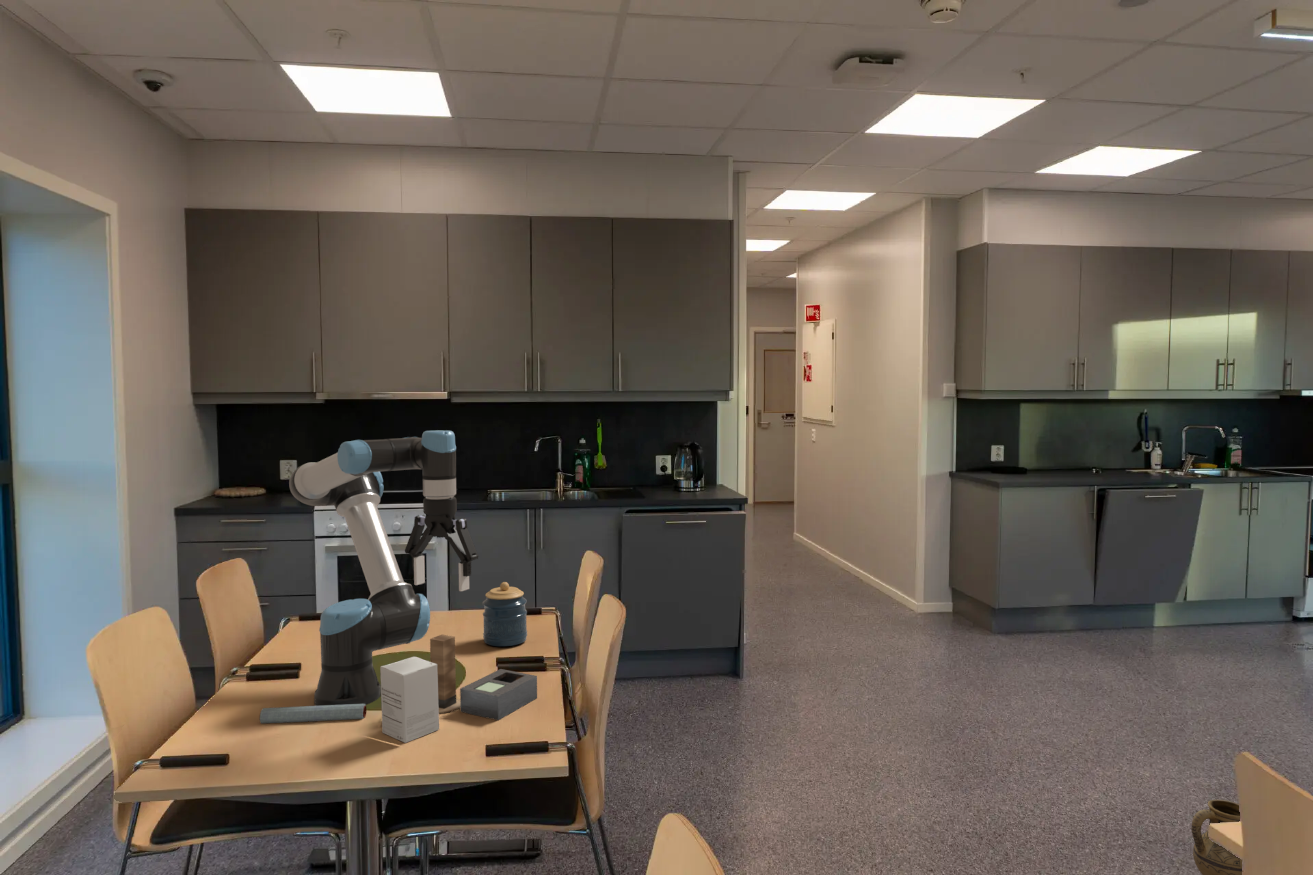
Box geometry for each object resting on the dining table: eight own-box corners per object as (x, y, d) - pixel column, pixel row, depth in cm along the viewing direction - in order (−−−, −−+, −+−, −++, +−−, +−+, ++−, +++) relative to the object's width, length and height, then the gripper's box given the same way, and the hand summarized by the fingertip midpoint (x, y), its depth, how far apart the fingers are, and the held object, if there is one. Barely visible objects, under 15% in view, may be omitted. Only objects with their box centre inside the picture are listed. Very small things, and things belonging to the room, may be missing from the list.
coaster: (445, 715, 188) (445, 713, 188) (418, 709, 191) (418, 707, 191) (468, 703, 195) (468, 701, 195) (442, 698, 198) (442, 695, 198)
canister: (522, 632, 253) (521, 575, 252) (531, 644, 241) (530, 585, 240) (479, 636, 248) (479, 579, 247) (487, 649, 236) (486, 589, 235)
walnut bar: (444, 708, 190) (443, 641, 189) (431, 705, 192) (429, 638, 191) (456, 702, 194) (455, 636, 193) (443, 699, 196) (441, 634, 195)
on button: (504, 695, 192) (504, 685, 192) (491, 702, 188) (491, 692, 188) (488, 692, 194) (488, 682, 194) (475, 699, 190) (475, 688, 190)
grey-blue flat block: (259, 726, 183) (258, 711, 183) (269, 714, 190) (269, 700, 190) (363, 721, 186) (363, 706, 186) (370, 710, 192) (370, 695, 192)
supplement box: (416, 719, 186) (415, 655, 185) (440, 730, 180) (438, 663, 179) (380, 732, 179) (379, 665, 178) (404, 743, 173) (402, 674, 172)
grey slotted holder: (537, 697, 198) (536, 675, 198) (498, 720, 185) (498, 696, 185) (500, 690, 203) (500, 668, 203) (460, 711, 190) (460, 688, 190)
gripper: (492, 497, 188) (494, 589, 189) (411, 492, 199) (413, 578, 200) (471, 501, 181) (472, 596, 182) (388, 495, 192) (390, 584, 194)
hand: (441, 586), depth 191 cm, fingers open, 13 cm apart
